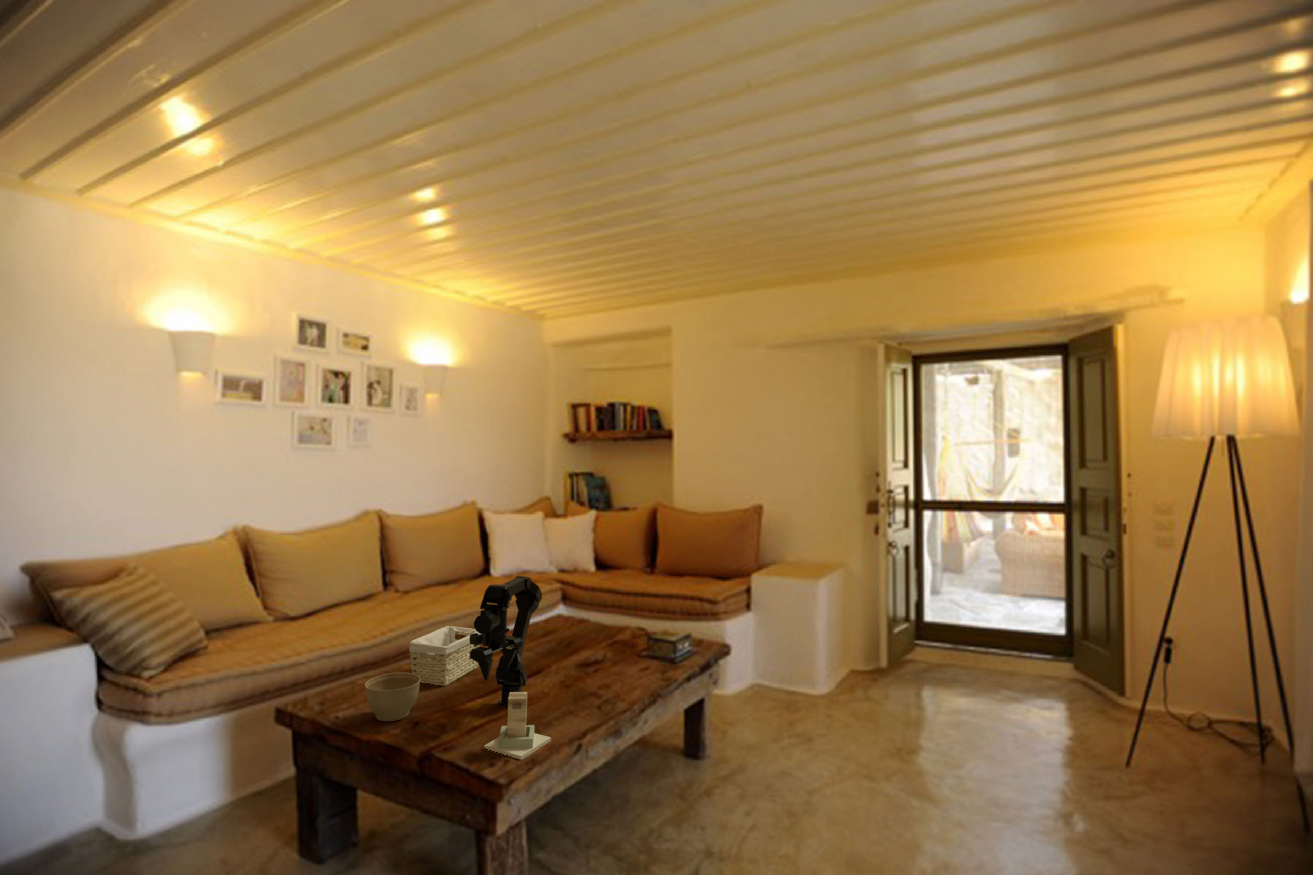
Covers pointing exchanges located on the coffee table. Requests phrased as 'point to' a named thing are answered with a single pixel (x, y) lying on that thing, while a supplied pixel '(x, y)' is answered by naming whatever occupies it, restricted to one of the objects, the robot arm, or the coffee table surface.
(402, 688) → the planter bowl
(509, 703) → the birch cabinet block
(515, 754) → the board
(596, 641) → the coffee table surface
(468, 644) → the storage basket
